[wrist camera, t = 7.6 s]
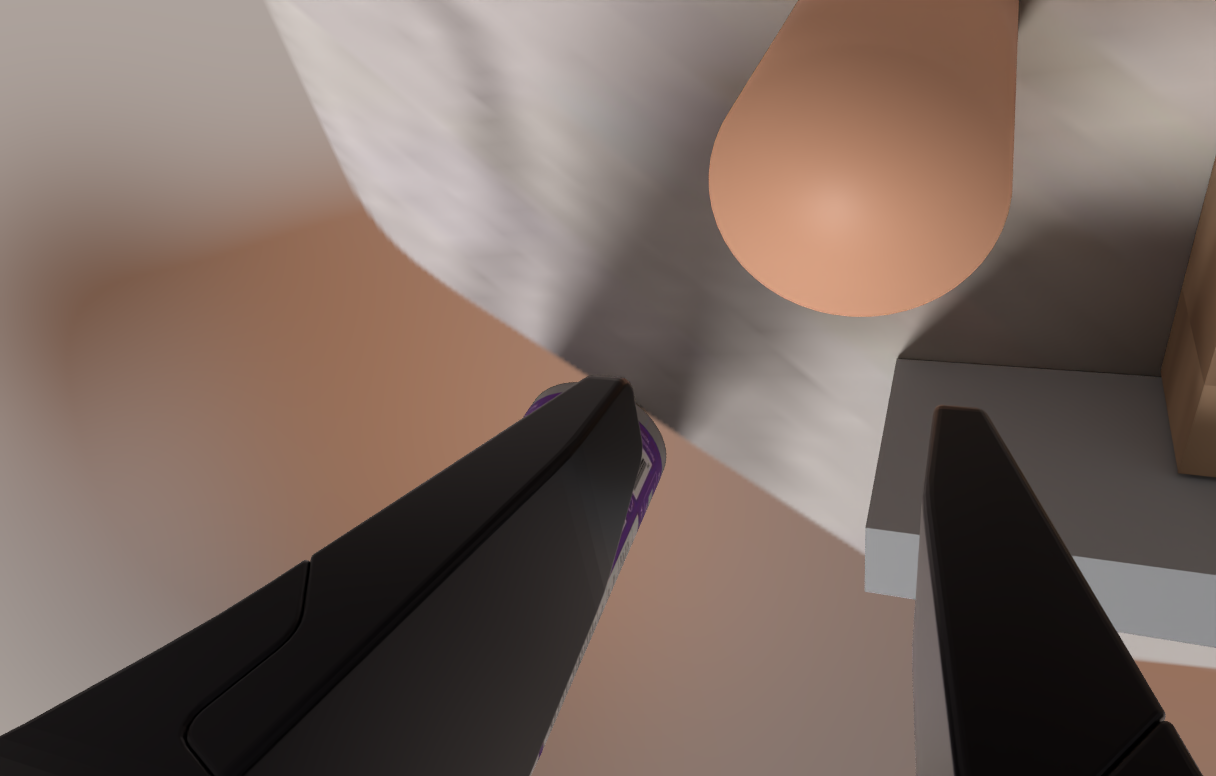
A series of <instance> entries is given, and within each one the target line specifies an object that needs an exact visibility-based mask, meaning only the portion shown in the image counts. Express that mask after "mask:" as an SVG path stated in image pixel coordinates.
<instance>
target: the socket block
mask: <svg viewBox="0 0 1216 776" xmlns="http://www.w3.org/2000/svg"><path fill="white" fill-rule="evenodd" d="M1161 377H1162V382H1163V388H1164V394H1165V400H1166V406H1167V411H1168V417H1169V423H1170V429H1171V434H1172V440H1173V446H1174V452H1175V458H1176V463H1177V469H1178V473H1180V474H1190V475H1199V476H1209V477H1216V157H1215V161H1214V165H1213V168H1212V172H1211V176H1210V180H1209V184H1208V188H1207V192H1206V196H1205V200H1204V203H1203V207H1202V211H1201V215H1200V219H1199V223H1198V227H1197V231H1196V235H1195V239H1194V242H1193V246H1192V250H1191V254H1190V258H1189V262H1188V266H1187V270H1186V274H1185V277H1184V281H1183V285H1182V289H1181V293H1180V297H1179V301H1178V305H1177V309H1176V313H1175V316H1174V320H1173V324H1172V328H1171V332H1170V336H1169V340H1168V344H1167V348H1166V351H1165V355H1164V359H1163V363H1162V367H1161Z"/></svg>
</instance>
